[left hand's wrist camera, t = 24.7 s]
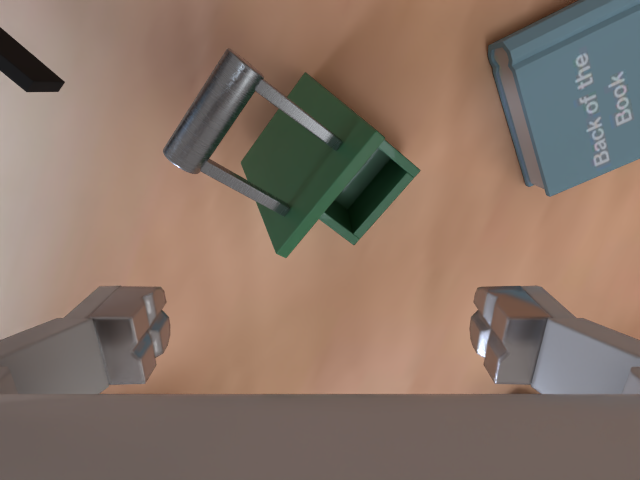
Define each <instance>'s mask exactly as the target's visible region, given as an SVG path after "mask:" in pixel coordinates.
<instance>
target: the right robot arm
mask: <svg viewBox="0 0 640 480" xmlns="http://www.w3.org/2000/svg"><path fill="white" fill-rule="evenodd" d="M0 71H1V72H3V73H4V74H5V75H6V76H8V77H9V78H10V79H11V80H12V81H14V82H15V83H16V84H17V85H19V86H20V87H21V88H22V89H23V90H25V91H26V92H58V91H59V90H60V88H61V87H62V86H63V84H64V83H65V82H64V81H63V80H62V79H61V78H59V77H58V76H57V75H56V74H55V73H54V72H52V71H51V70H50V69H49V68H48V67H46V66H45V65H44V64H43V63H42V62H41V61H39V60H38V59H37V58H36V57H35V56H34V55H32V54H31V53H30V52H29V51H28V50H26V49H25V48H24V47H23V46H22V45H21V44H19V43H18V42H17V41H16V40H15V39H13V38H12V37H11V36H10V35H9V34H8V33H6V32H5V31H4V30H3V29H2V28H1V27H0Z"/></svg>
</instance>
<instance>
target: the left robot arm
mask: <svg viewBox="0 0 640 480" xmlns="http://www.w3.org/2000/svg"><path fill="white" fill-rule="evenodd" d="M165 304H166V297H165V292H164V290H163V289H162V288H161V287H145V286H99V287H98V288H97V289H96V290H95V291H94V292H92V293H91V294H90V295H89V296H88V297H87V298H86V299H85V300H83V301H82V302H81V303H80V304H79V305H78V306H77V307H75V308H74V309H73V310H72V311H71V312H70V313H69V314H68V315H66V316H65V317H64V318H56V319H54V320H51V321H48V322H46V323H43V324H41V325H38V326H36V327H33V328H30V329H28V330H25V331H23V332H20V333H18V334H15V335H12V336H10V337H7V338H5V339H2V340H0V480H640V340H638V339H635V338H633V337H630V336H627V335H625V334H622V333H620V332H617V331H615V330H612V329H609V328H607V327H604V326H602V325H599V324H597V323H594V322H592V321H589V320H586V319H584V318H576V317H575V316H574V315H573V314H571V313H570V312H569V311H568V310H567V309H566V308H565V307H563V306H562V305H561V304H560V303H559V302H558V301H557V300H556V299H554V298H553V297H552V296H551V295H550V294H549V293H548V292H547V291H545V290H544V289H543V288H542V287H540V286H495V287H479V288H477V290H476V293H475V296H474V304H475V306H476V307H477V309H478V310H477V312H476V313H475V314H474V315H473V316H472V317H471V321H470V339H471V342H472V345H473V348H474V349H475V351H476V353H477V354H479V355H481V356H482V357H484V358H485V360H484V366H485V368H486V370H487V371H488V373H489V375H490V376H491V378H492V380H493V381H494V383H495V384H524V385H531V387H533V388H534V389H535V390H537V391H538V392H540V393H541V394H99V393H101V392H102V391H103V390H105V389H106V388H107V387H109V385H116V384H145V383H146V381H147V380H148V378H149V376H150V375H151V373H152V371H153V370H154V368H155V366H156V360H155V358H156V357H158V356H159V355H161V354H163V353H164V351H165V349H166V348H167V346H168V342H169V338H170V320H169V317H168V316H167V315H166V314H165V313H164V312H163V310H162V309H163V307H164V306H165Z"/></svg>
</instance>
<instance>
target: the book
mask: <svg viewBox="0 0 640 480" xmlns="http://www.w3.org/2000/svg"><path fill="white" fill-rule="evenodd" d="M488 58H489V61H490V64H491V66H492V67H493V75H494V78H495V82H496V85H497V89H498V92H499V95H500V99H501V102H502V105H503V109H504V112H505V116H506V119H507V122H508V126H509V129H510V133H511V136H512V139H513V143H514V146H515V150H516V153H517V156H518V160H519V163H520V167H521V170H522V173H523V177H524V180H525V184H526V186H528V187H530V186H533V185H536V186H538V187H541V188H543V189H545V192H546V195H547V196H549V197H550V196H553V195H555V194H558V193H560V192H562V191H565V190H567V189H569V188H572V187H574V186H576V185H579V184H581V183H583V182H586V181H588V180H590V179H593V178H595V177H598V176H600V175H602V174H605V173H607V172H609V171H612V170H614V169H616V168H619V167H621V166H623V165H626V164H628V163H630V162H633V161H635V160H638V159H640V0H578V1H576V2H574V3H572V4H570V5H568V6H566V7H564V8H562V9H560V10H558V11H556V12H554V13H552V14H550V15H548V16H546V17H544V18H542V19H540V20H538V21H536V22H534V23H532V24H530V25H528V26H526V27H524V28H522V29H520V30H518V31H516V32H514V33H512V34H510V35H508V36H506V37H504V38H502V39H500V40H498V41H496V42H494V43H492V44H490V45H489V46H488Z"/></svg>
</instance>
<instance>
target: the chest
mask: <svg viewBox="0 0 640 480" xmlns="http://www.w3.org/2000/svg"><path fill="white" fill-rule="evenodd" d="M419 172H420V169H418V168H417V167H416V166H415V165H414V164H413V163H411V162H410V161H409V160H408V159H407V158H406V157H404V156H403V155H402V154H401V153H400V152H399V151H397V150H396V149H395V148H394V147H393V146H391V145H390V144H389V143H388V142H387V141H386V140H384V141H383V142H382V143H381V145H380V146H379V147H378V148H377V149H376V151H375V152H374V153H373V154H372V155H371V157H370V158H369V159H368V160H367V161H366V163H365V164H364V165H363V166H362V167H361V169H360V170H359V171H358V172H357V173H356V175H355V176H354V177H353V178H352V179H351V181H350V182H349V183H348V184H347V185H346V187H345V188H344V189H343V190H342V192H341V193H340V194H339V195H338V196H337V198H336V199H335V200H334V201H333V202H332V204H331V205H330V206H329V207H328V208H327V210H326V211H325V212H324V213H323V214H322V216H321V217H320V218H319V219H320V220H321V221H322V222H324V223H325V224H326V225H328V226H329V227H330V228H332V229H333V230H334V231H336V232H337V233H338V234H340V235H341V236H342V237H344V238H345V239H346V240H348V241H349V242H350V243H352V244H353V245H355V244H356V243H357V242H358V240H359V239H360V238H361V237H362V236H363V235H364V234H365V233H366V231H367V230H368V229H369V228H370V227H371V226H372V225H373V224H374V222H375V221H376V220H377V219H378V218H379V217H380V216H381V215H382V213H383V212H384V211H385V210H386V209H387V208H388V207H389V206H390V204H391V203H392V202H393V201H394V200H395V199H396V198H397V197H398V195H399V194H400V193H401V192H402V191H403V190H404V189H405V188H406V186H407V185H408V184H409V183H410V182H411V181H412V180H413V179H414V177H415V176H416V175H417V174H418V173H419Z"/></svg>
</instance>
